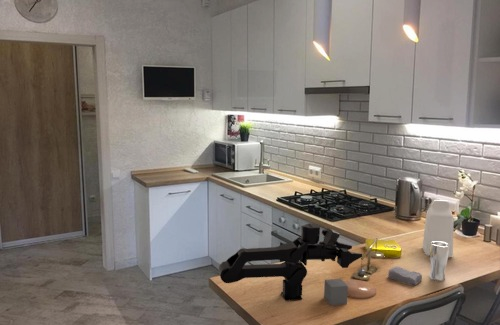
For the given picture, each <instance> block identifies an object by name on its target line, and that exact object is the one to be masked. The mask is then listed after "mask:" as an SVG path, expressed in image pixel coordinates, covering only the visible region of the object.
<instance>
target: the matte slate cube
mask: <svg viewBox="0 0 500 325" xmlns="http://www.w3.org/2000/svg"><path fill="white" fill-rule="evenodd" d="M344 281H345V280H343V279H342V278H333V279H332V278H331V279H324V288H323V290H324V291H323V299H325V301H326V302H327V303H328V305H329V306H340V305H348V296H347V293H348V285H347V284H346V283H345V282H344Z"/></svg>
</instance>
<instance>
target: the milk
mask: <svg viewBox="0 0 500 325" xmlns="http://www.w3.org/2000/svg"><path fill="white" fill-rule="evenodd" d="M424 222H425V223H424V229H423V230H424V231H423V239H422V247H423V248H422V250H423V253H424V252H425V253H424V255H425V254H426V255H425V256H429V255H430V248H431V242H433V241H440V242H444V243H447V244H448V258H450V257H454V215H453V213H452V209H451V206H450V203H449V200H447V199H446V200H445V199H434V200H433V201H432V203H431V205H430V206H429V207H428V209H427V211H426V216H425V221H424Z"/></svg>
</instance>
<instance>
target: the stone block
mask: <svg viewBox="0 0 500 325" xmlns="http://www.w3.org/2000/svg"><path fill="white" fill-rule="evenodd" d="M387 275H388V278H389V279H390V278H391V280H393V281H397V282H399V283H403V284H406V285H408V286H413V287H414V286H415V287H416V286H417V284H418V283H421V282H422V280H423V279H422V278H423V277H422V276H423V275H422V273H420V272H417V271H411V270H408V269H405V268H403V267H401V266H394V267H392V268H390V269H389V270H388V274H387Z"/></svg>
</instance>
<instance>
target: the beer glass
mask: <svg viewBox="0 0 500 325" xmlns="http://www.w3.org/2000/svg"><path fill="white" fill-rule="evenodd" d="M448 259H449V257H448V244H447V243H444V242H440V241H433V242H431V248H430V256H429V260H430V262H429V263H430V272H429V275H428V276H429V279H430V280H432V281H435V280H436V281H435V282H444V281H445V280H446V275H445V274H446V272H445V271H446V268H447V263H448Z"/></svg>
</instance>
